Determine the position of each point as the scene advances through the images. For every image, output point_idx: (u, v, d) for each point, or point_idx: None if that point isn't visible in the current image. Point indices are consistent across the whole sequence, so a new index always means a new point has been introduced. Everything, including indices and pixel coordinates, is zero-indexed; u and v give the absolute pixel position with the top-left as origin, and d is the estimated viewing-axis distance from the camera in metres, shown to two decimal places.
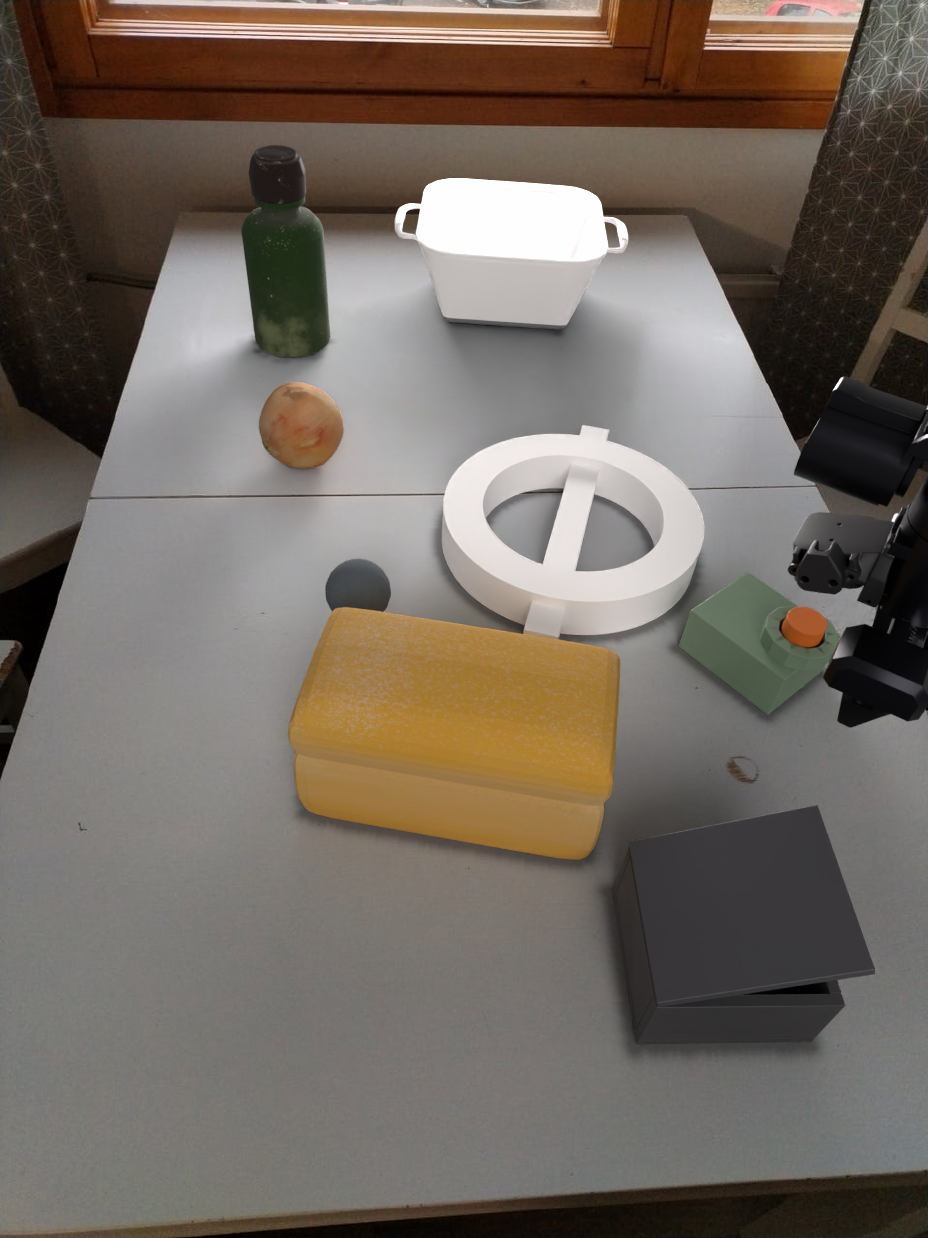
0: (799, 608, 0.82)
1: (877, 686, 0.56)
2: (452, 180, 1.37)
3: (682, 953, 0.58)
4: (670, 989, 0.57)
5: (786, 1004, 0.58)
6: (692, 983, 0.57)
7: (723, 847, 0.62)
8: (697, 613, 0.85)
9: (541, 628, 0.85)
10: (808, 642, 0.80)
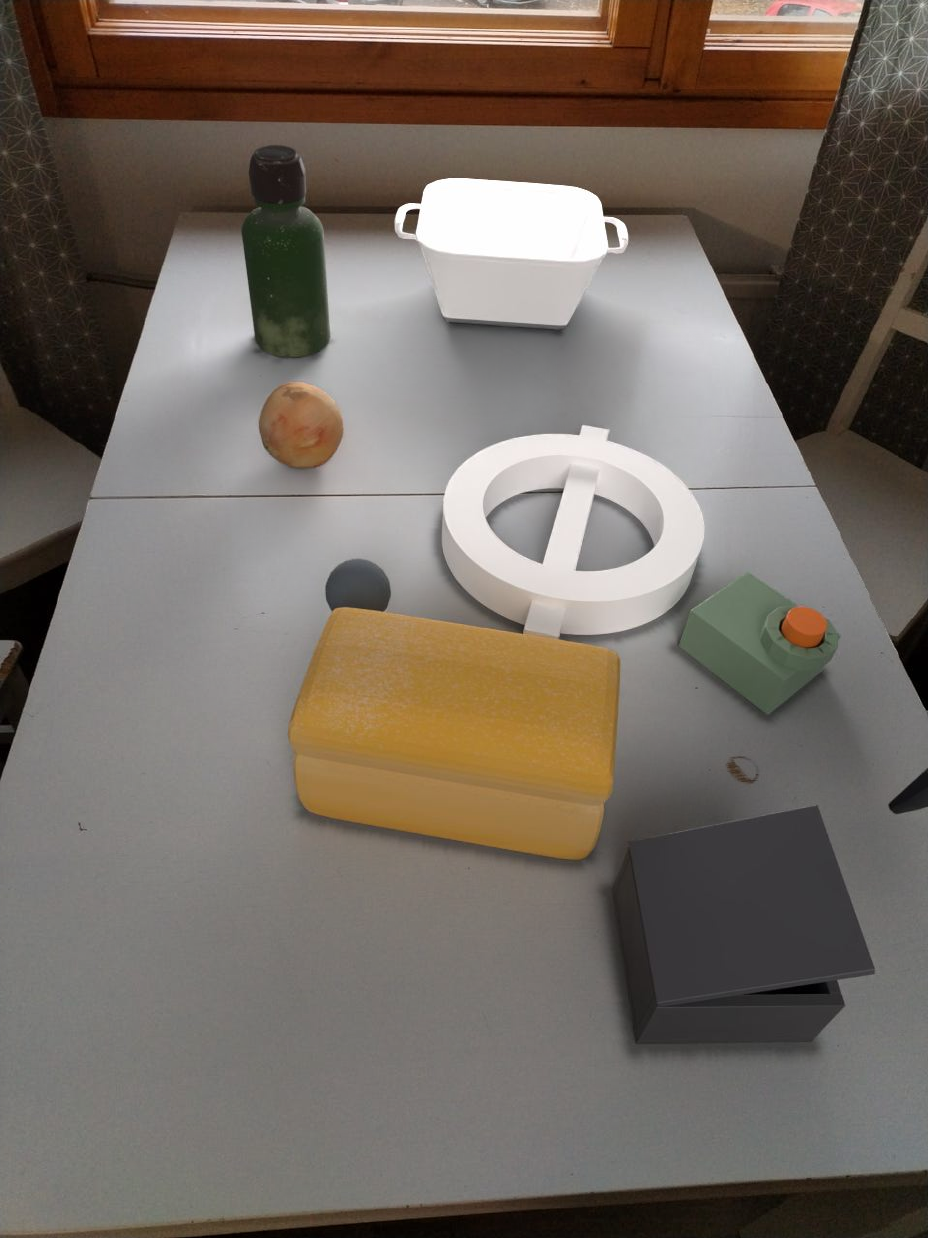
0: (799, 608, 0.82)
1: None
2: (452, 180, 1.37)
3: (682, 953, 0.58)
4: (670, 989, 0.57)
5: (786, 1004, 0.58)
6: (692, 983, 0.57)
7: (723, 847, 0.62)
8: (697, 613, 0.85)
9: (541, 628, 0.85)
10: (808, 642, 0.80)
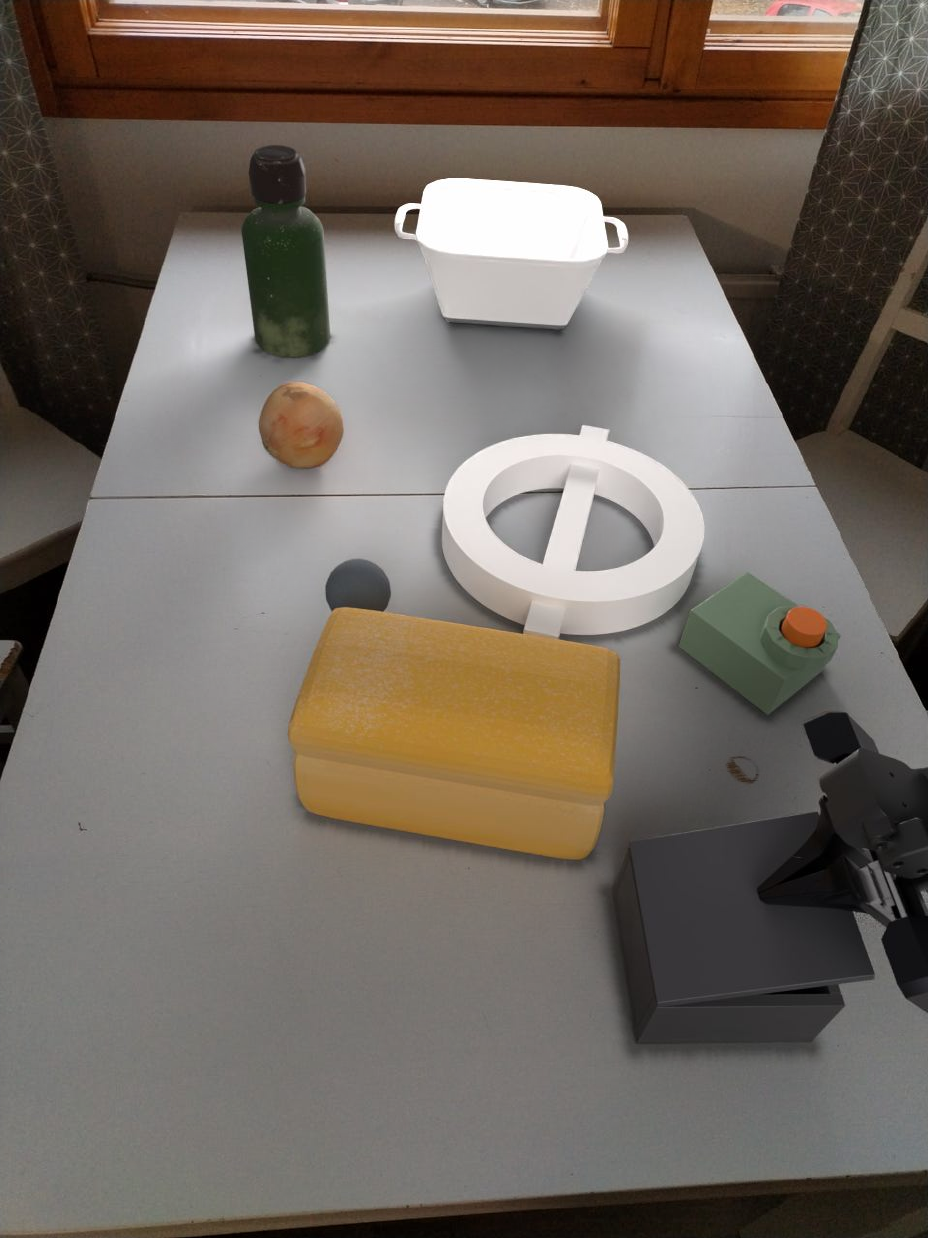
0: (799, 608, 0.82)
1: None
2: (452, 180, 1.37)
3: (683, 954, 0.59)
4: (671, 989, 0.57)
5: (786, 1004, 0.58)
6: (693, 984, 0.57)
7: (725, 850, 0.63)
8: (697, 613, 0.85)
9: (541, 628, 0.85)
10: (808, 642, 0.80)
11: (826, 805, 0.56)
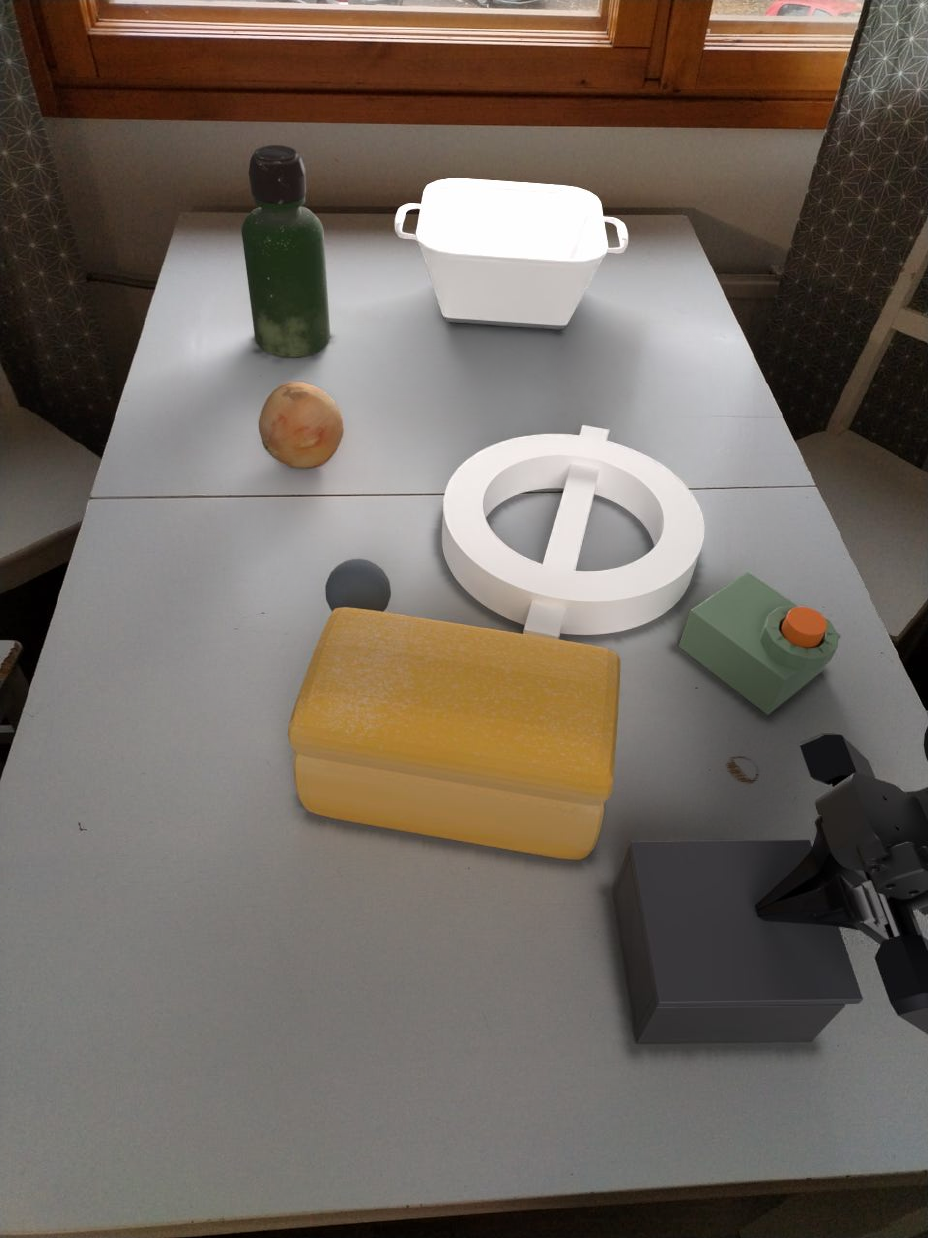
0: (799, 608, 0.82)
1: None
2: (452, 180, 1.37)
3: (684, 958, 0.59)
4: (672, 991, 0.58)
5: None
6: (694, 988, 0.58)
7: (724, 863, 0.64)
8: (697, 613, 0.85)
9: (541, 628, 0.85)
10: (808, 642, 0.80)
11: (822, 825, 0.58)
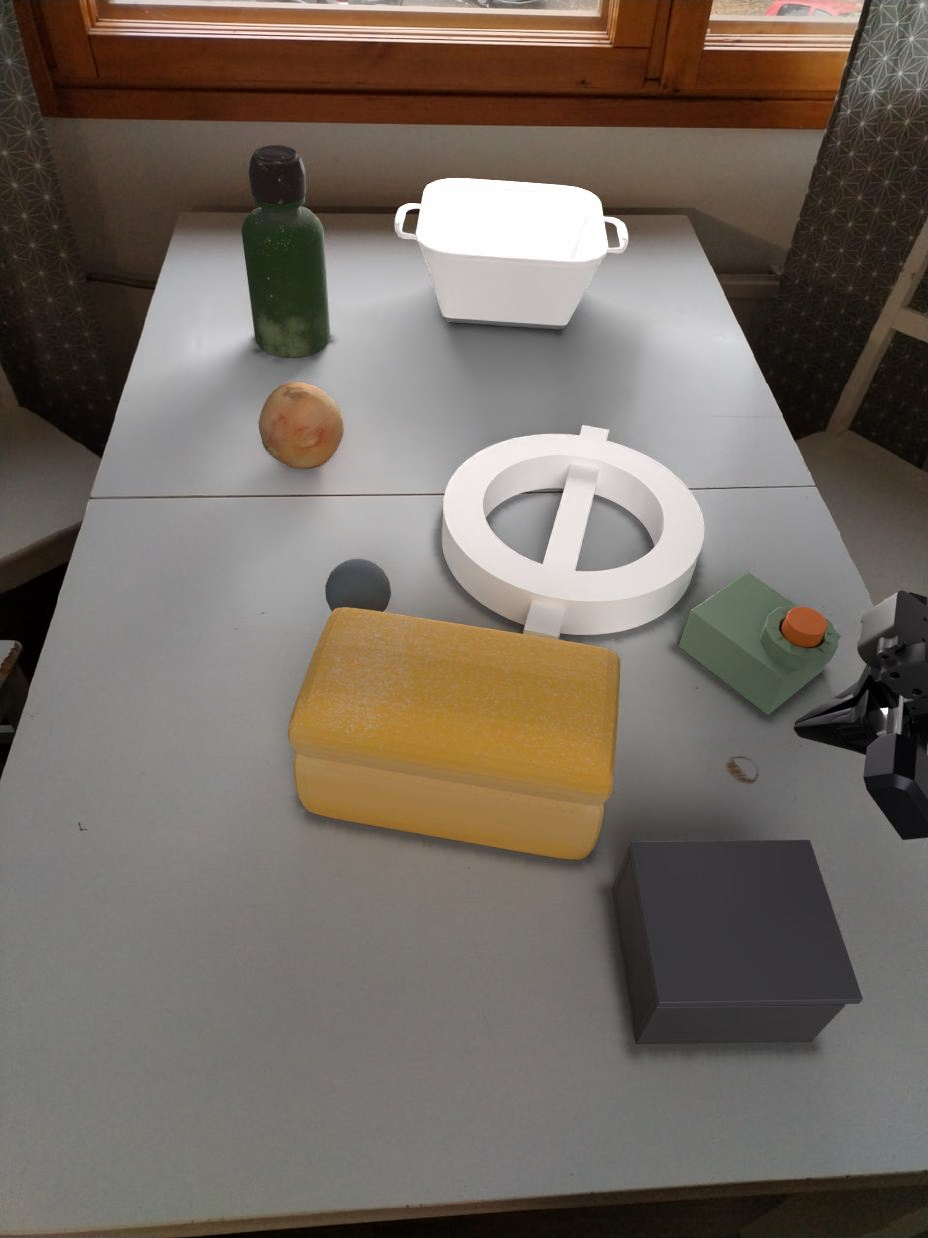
0: (799, 608, 0.82)
1: (912, 811, 0.55)
2: (452, 180, 1.37)
3: (684, 958, 0.59)
4: (672, 991, 0.58)
5: None
6: (694, 988, 0.58)
7: (724, 863, 0.64)
8: (697, 613, 0.85)
9: (541, 628, 0.85)
10: (808, 642, 0.80)
11: None
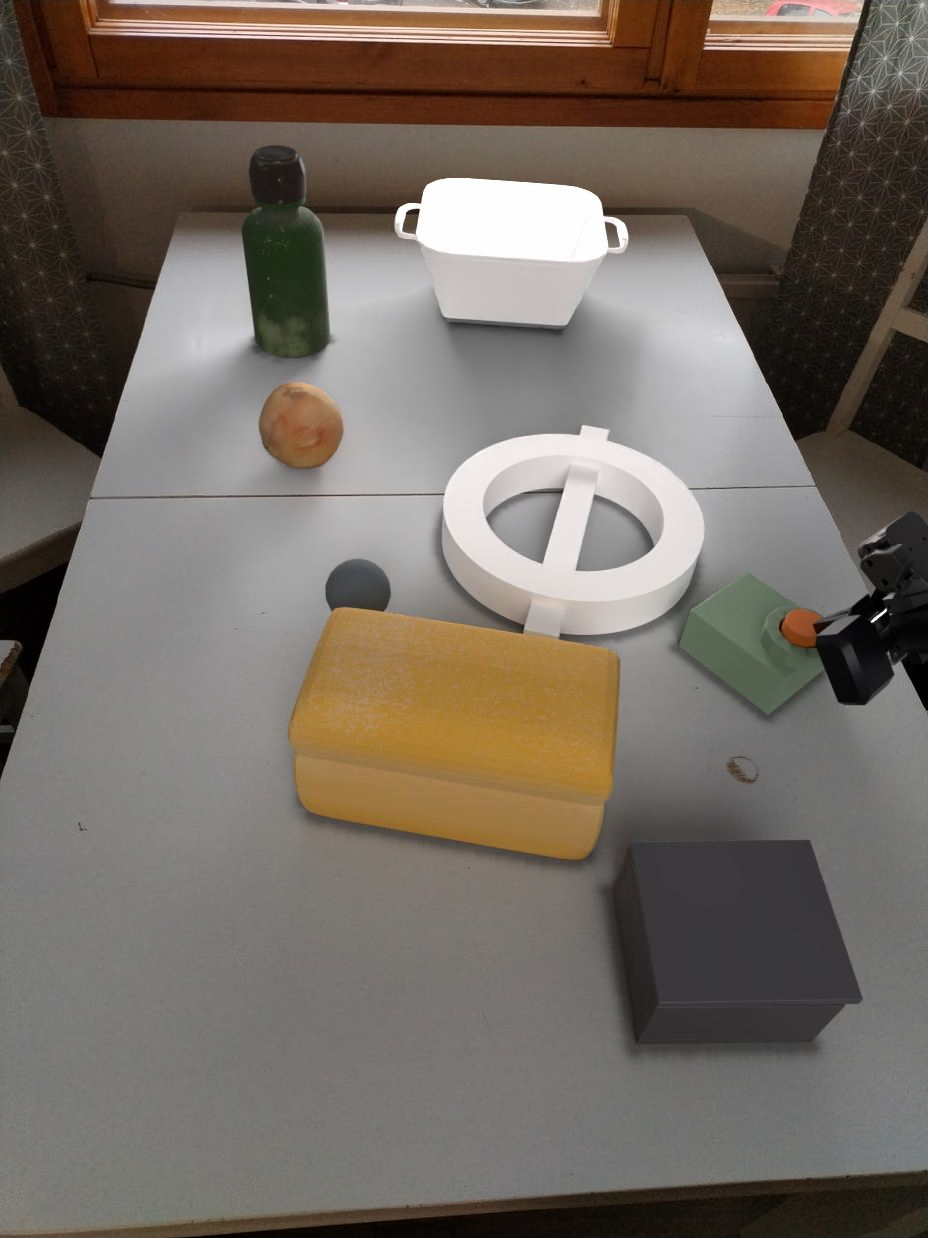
0: (798, 611, 0.82)
1: (845, 672, 0.68)
2: (452, 180, 1.37)
3: (684, 958, 0.59)
4: (672, 991, 0.58)
5: None
6: (694, 988, 0.58)
7: (724, 863, 0.64)
8: (697, 613, 0.85)
9: (541, 628, 0.85)
10: (807, 644, 0.80)
11: None
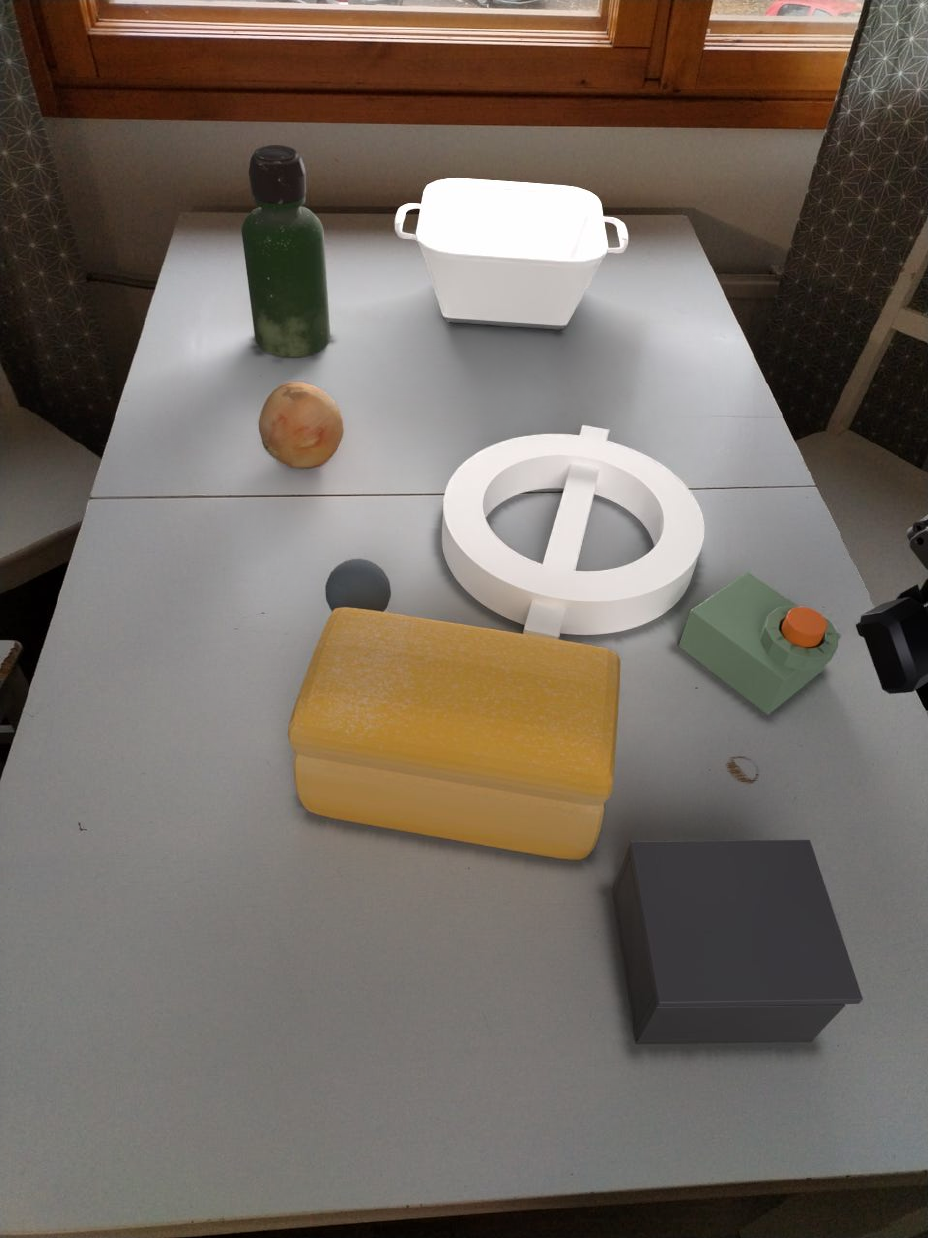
0: (799, 608, 0.82)
1: (891, 654, 0.63)
2: (452, 180, 1.37)
3: (684, 958, 0.59)
4: (672, 991, 0.58)
5: None
6: (694, 988, 0.58)
7: (724, 863, 0.64)
8: (697, 613, 0.85)
9: (541, 628, 0.85)
10: (808, 642, 0.80)
11: None
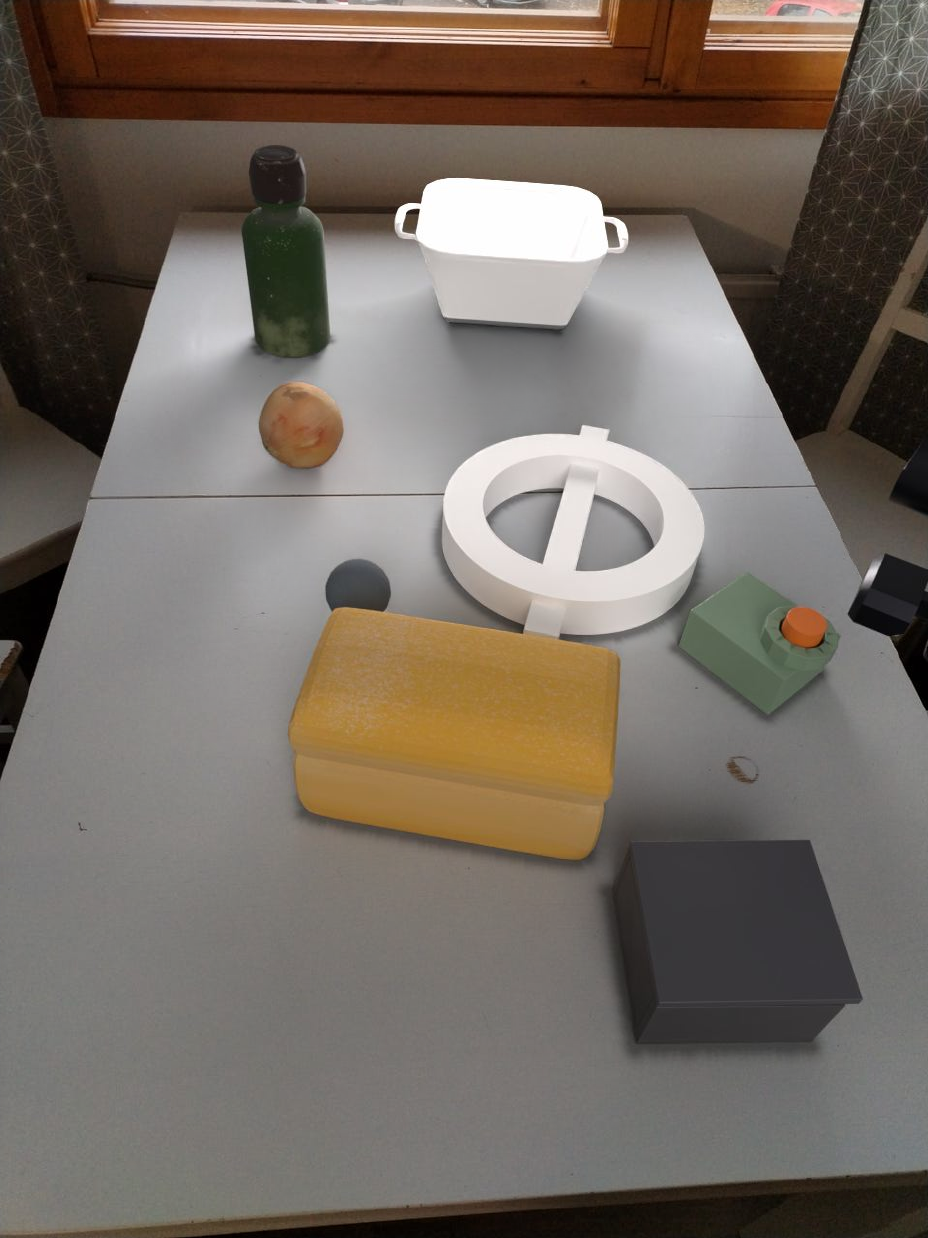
0: (799, 608, 0.82)
1: (865, 576, 0.65)
2: (452, 180, 1.37)
3: (684, 958, 0.59)
4: (672, 991, 0.58)
5: None
6: (694, 988, 0.58)
7: (724, 863, 0.64)
8: (697, 613, 0.85)
9: (541, 628, 0.85)
10: (808, 642, 0.80)
11: None
